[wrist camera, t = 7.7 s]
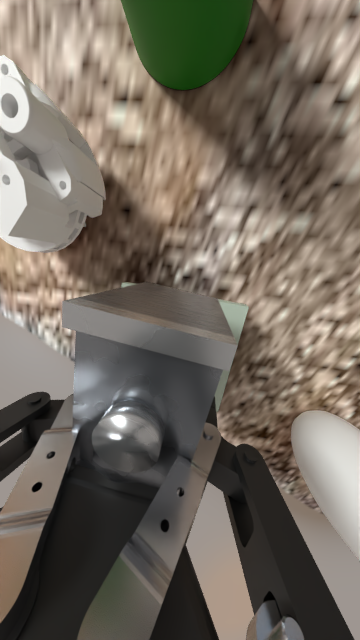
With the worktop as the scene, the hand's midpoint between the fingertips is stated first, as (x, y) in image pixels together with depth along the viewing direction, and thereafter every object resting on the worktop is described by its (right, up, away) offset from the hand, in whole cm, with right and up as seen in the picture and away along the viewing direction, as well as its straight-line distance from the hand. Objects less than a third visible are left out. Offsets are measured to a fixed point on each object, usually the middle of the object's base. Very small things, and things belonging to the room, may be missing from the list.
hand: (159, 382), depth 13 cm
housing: (+1, +2, 0) cm, 3 cm away
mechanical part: (-11, +18, +7) cm, 22 cm away
